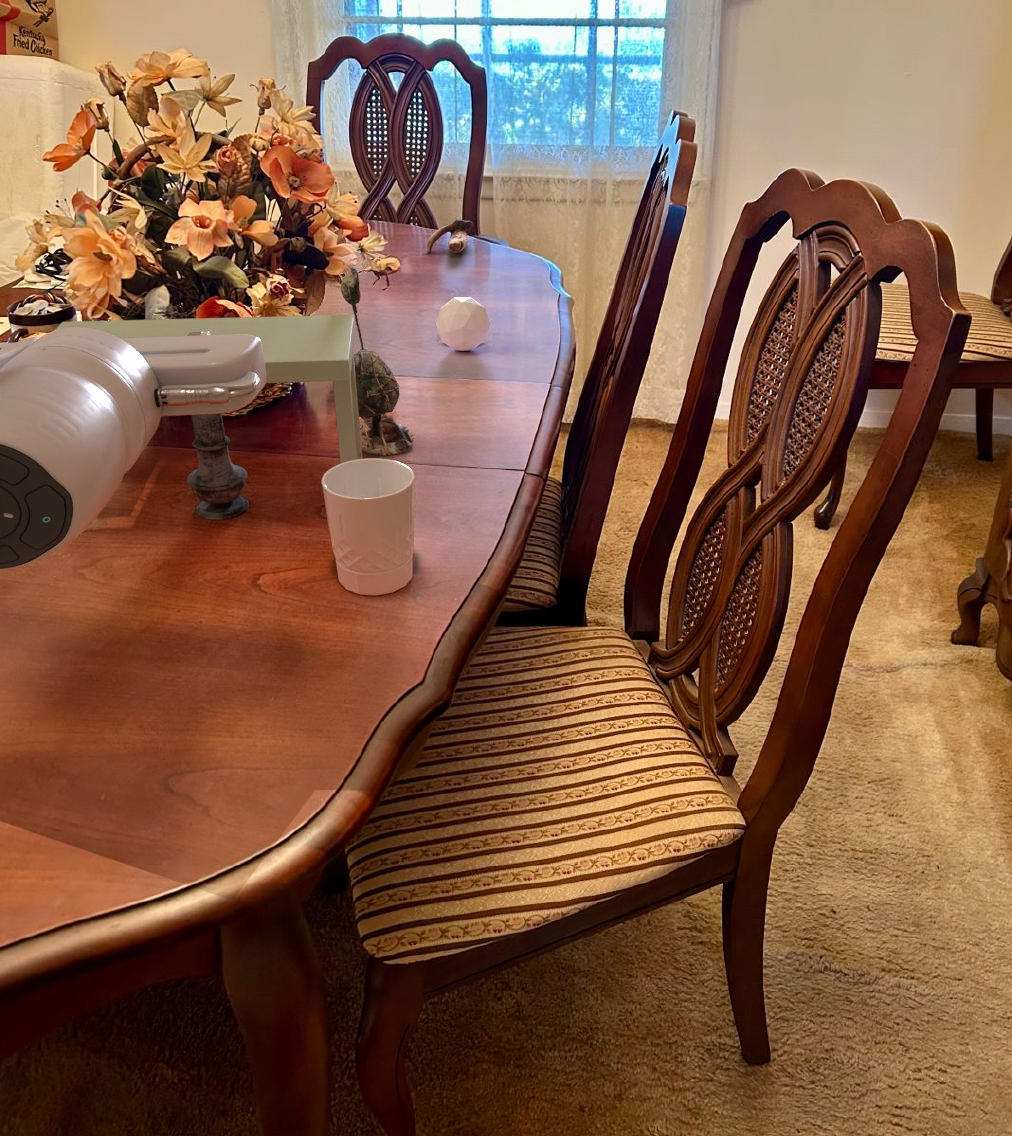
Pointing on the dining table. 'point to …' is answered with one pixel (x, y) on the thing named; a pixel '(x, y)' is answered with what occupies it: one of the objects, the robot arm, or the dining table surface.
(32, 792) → the dining table surface
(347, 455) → the side table
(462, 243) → the lashed bone hook
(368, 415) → the plant with pod
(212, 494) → the salt shaker
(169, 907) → the dining table surface
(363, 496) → the white cup
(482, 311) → the geometric ball
